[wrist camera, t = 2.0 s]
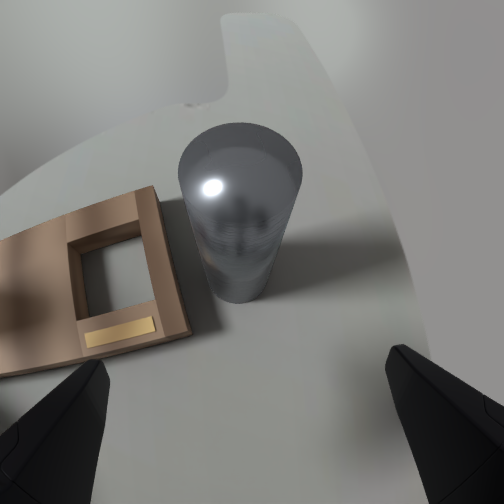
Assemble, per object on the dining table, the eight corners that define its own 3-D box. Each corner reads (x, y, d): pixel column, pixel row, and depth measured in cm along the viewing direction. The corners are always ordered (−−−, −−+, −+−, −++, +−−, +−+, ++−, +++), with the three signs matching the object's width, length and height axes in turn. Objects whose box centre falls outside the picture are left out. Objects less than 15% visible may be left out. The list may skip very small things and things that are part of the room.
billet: (278, 265, 23) (322, 155, 11) (247, 315, 22) (261, 247, 10) (228, 235, 24) (224, 108, 12) (195, 282, 23) (152, 183, 10)
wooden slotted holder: (159, 201, 25) (152, 184, 22) (192, 334, 21) (187, 330, 19) (-42, 275, 21) (-58, 267, 19) (-35, 382, 18) (-52, 381, 15)
